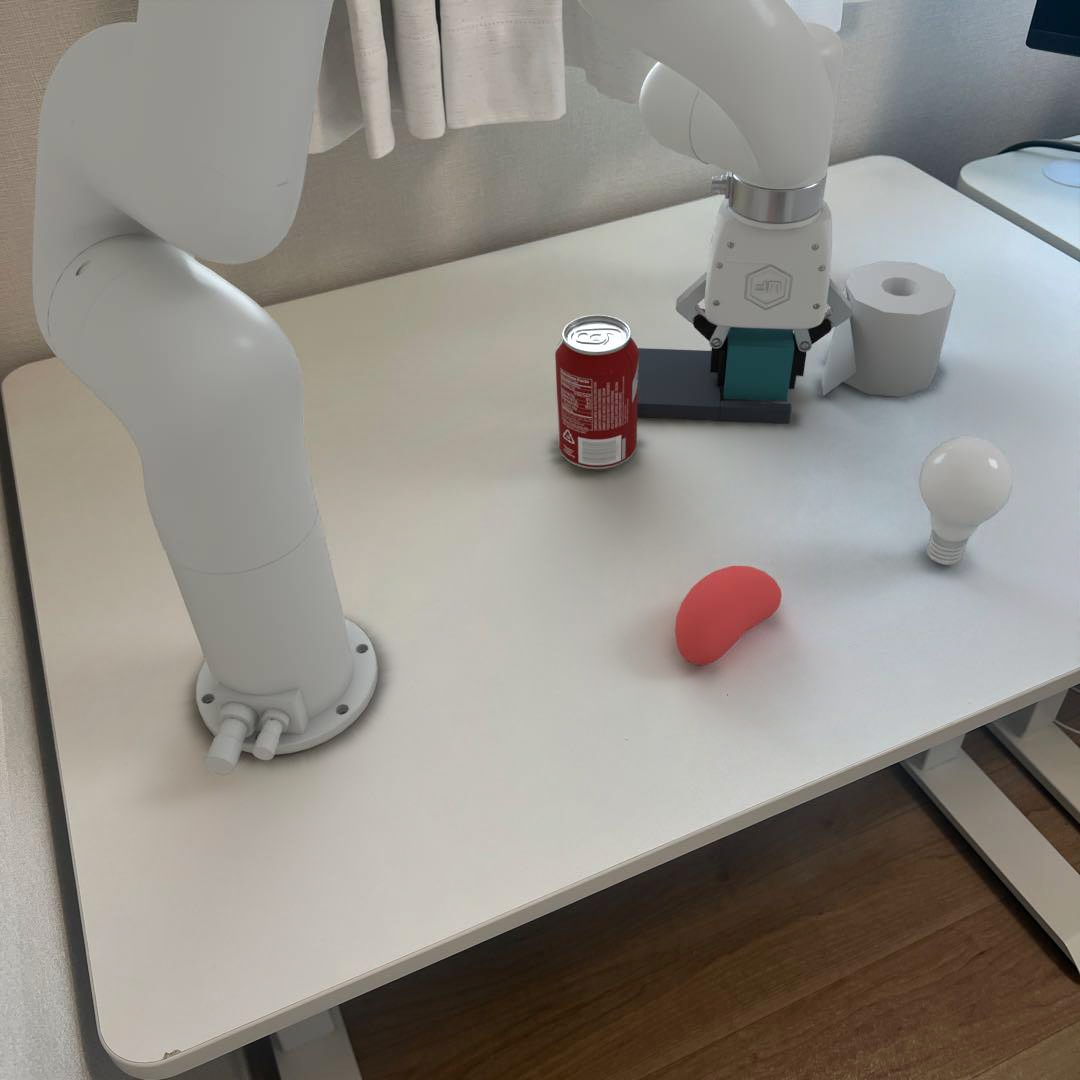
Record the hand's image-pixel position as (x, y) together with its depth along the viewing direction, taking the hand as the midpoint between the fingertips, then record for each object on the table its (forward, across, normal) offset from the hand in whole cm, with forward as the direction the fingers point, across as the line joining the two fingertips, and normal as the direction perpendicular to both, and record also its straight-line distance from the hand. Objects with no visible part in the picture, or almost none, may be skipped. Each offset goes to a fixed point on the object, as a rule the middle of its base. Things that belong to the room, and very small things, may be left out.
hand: (755, 377), depth 100 cm
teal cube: (0, 0, 0) cm, 0 cm away
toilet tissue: (+2, +11, +4) cm, 12 cm away
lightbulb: (+2, +14, -21) cm, 25 cm away
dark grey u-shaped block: (+2, -6, 0) cm, 6 cm away
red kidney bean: (+2, -2, -30) cm, 30 cm away
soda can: (+2, -14, -10) cm, 17 cm away
